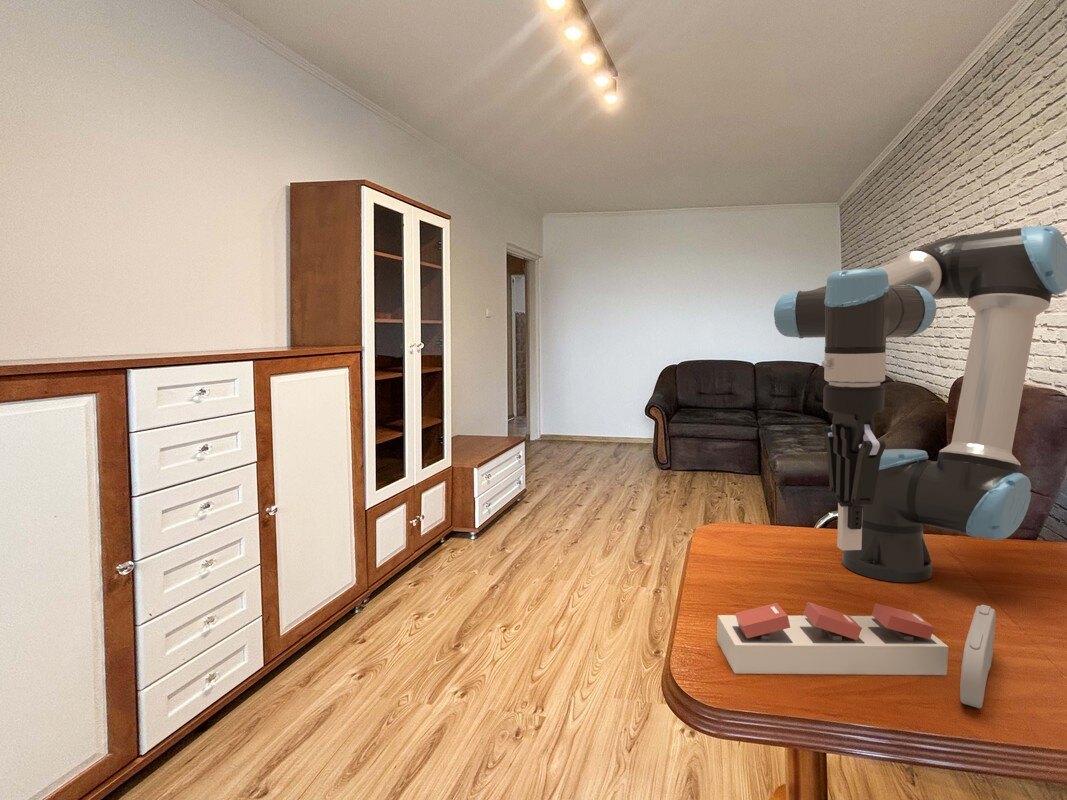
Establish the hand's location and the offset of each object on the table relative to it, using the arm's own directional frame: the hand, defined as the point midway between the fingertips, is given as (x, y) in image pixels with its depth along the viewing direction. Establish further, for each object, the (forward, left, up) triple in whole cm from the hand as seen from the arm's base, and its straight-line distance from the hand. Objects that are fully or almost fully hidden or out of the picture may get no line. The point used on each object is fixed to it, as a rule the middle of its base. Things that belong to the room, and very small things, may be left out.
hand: (849, 548), depth 89 cm
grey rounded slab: (-13, +8, -15) cm, 22 cm away
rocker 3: (-6, +4, -9) cm, 11 cm away
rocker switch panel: (+4, +2, -15) cm, 16 cm away
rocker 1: (+13, +4, -9) cm, 16 cm away
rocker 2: (+4, +4, -9) cm, 10 cm away
